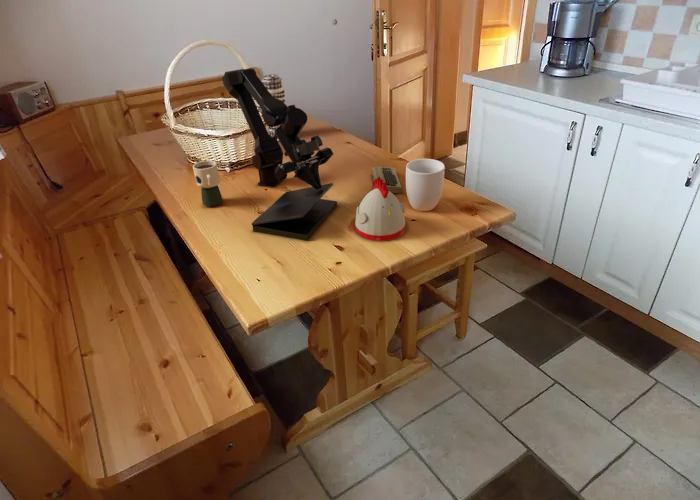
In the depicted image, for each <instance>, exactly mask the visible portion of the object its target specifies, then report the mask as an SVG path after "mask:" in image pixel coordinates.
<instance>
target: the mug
mask: <svg viewBox="0 0 700 500" xmlns="http://www.w3.org/2000/svg"><path fill="white" fill-rule="evenodd" d="M445 170H446V167H445V164H444V163H443V162H442V161H440V160H437V159H433V158H416V159H413V160H412V159H411V160H410V161H408V162H407V163H406V165H405V191H406V197H407V200H408V202H409V205H410V206H411V207H412V209H414V210H415V211H420V212H429V211H430V212H431V211H432V210H433V209H435V208H436V207H437V205H438V204H439V202H440V199H441V197H442V193H443V189H444V182H445Z"/></svg>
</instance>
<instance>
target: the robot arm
mask: <svg viewBox="0 0 700 500" xmlns="http://www.w3.org/2000/svg"><path fill="white" fill-rule="evenodd" d="M221 78H222V79H221V80H222V85H223V86H224V88H225V89H226V91H227V92H228V94H229V95H230V96H231V97H232V98H234V99H235V100H237V103H238V105H239V107H240V110H241V112H242V114H243V116H244V118H245V121H246V123H247V124H248V128H249V130H250V132H251V136H252V137H253V140H254V146H253V147H254V148H253V152H254V155H253V157H252V160H251V162H252V166H253V167H254V168H255V169H256V170H257V172H258V177H259V182H257V185H258V186H262V187H270V188H275V187H277V186H278V185H279V184H280V183H281V182H282V181H284V180H286V179H287V178H288V174H290V173H293V172H294V175H293V178H294V179H296V178H297V179H299V180H301V181H302V182H304V183H306V184H308V185H309V186H310V187H314V188H315V189H317V190H318V189H320V188H321V187H322V186H321V185H322V182H321V177H320V172H319V166H320V167H321V166H322V165H324V164H326V163H328V161H329V160H330V159H331V158H332V157H333V156H334V154H335V153H334V152H333V150H332V149H331V147H324V148H320V147H322V146H323V145H324V144H323V143H324V142H323V140H322V138H321V137H320V136H319V135H314V136H312V137H310V141H306V139H301V137H300V134H301V132H302V131H303V129H304V127H305V126H306V125H307V122H308V115H307V113H306V112H305V111H304V110H303V109H301V108H300V107H296V105H295V104H290V105H288V106H287V104H286V103H285V102H284V103H285V104H286V105H285V104H284V103H283V102H282V101H281V100H279V99H277V98H274V97H273V96H272V95H271V93H270V92H269V91H268V89H267V88H266V87H265V85H264V84H263V83H262V81H261V80H262V79H260V78H259V76H258V74H257V72H256V69H254V68H252V67H249V68H240V69H239V68H238V69H233V70H229V71H228V70H227V71H225V72H224V74H223V76H222V77H221ZM257 104H258V106H259V108H260V109H261V113H260V111H259V109H258V106H257ZM279 125H281V126H279ZM267 126H269V127H275V126H279V127H278V129H277V130H275V134H274V137H271V136H270V135H269V134H268V131H267V130H268V129H267ZM277 139H278V140H279V141H278V140H277ZM284 151H285V152H284ZM316 151H317V152H316ZM315 152H316V153H315ZM284 157H288V158H289V159H290V160H289V161H286V162H283V161H284Z"/></svg>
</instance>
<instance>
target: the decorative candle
mask: <svg viewBox="0 0 700 500" xmlns="http://www.w3.org/2000/svg"><path fill="white" fill-rule="evenodd" d="M282 79H283V78H282V77H280V76H279V75H278V74H276V73H275V74H274V73H272V74H265V75H264V76H263V77H262V79H260V80H261V82H262V83H263V84H264V85H265V87H266V88H267V89H268V91H269V92H270V93H271V95H272V96H273V97H274V98H277V99H279V100H281V101H282V102H283V103H284V104H285V105H286V106H287V104H286V100H285V99H284V98H285V97H286V95H285V90H284V88H283V84H282V81H283V80H282ZM279 126H281V125H279ZM279 126H275V127H269V130H268V129H267V130H268V131H267V132H268V134H269V135H270V136H271V137H274V134H275V130H277V129H278V127H279ZM277 140H278V139H277ZM278 142H280V141H279V140H278Z"/></svg>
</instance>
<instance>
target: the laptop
mask: <svg viewBox="0 0 700 500" xmlns="http://www.w3.org/2000/svg"><path fill="white" fill-rule="evenodd" d="M337 207H338V200H333V199H325V198H320V199H319V201H318V202H317V203H316V204H315V205H314V206H313V207H312V208H311V209H310V210H309V211H308V212H307V213H306V214H305V215H304V216H303V217H302V218H296V219H290V220H284V221H277V222H271V223H265V224H258V225H251V227H252V232H255V233H260V234H267V235H271V236H277V237H282V238H283V237H284V238H287V239H295V240H300V241H306V242H308V241H309V240H310V239H311V238H312V237H313V235H314V234H315V233H316V232H317V231H318V230H319V229H320V228H321V226H322V225H323V224H324V223H325V221H326V220H327V219H328V218H329V217H330V216H331V214H332V213H333V212H334V211H335V210H336V208H337Z"/></svg>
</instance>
